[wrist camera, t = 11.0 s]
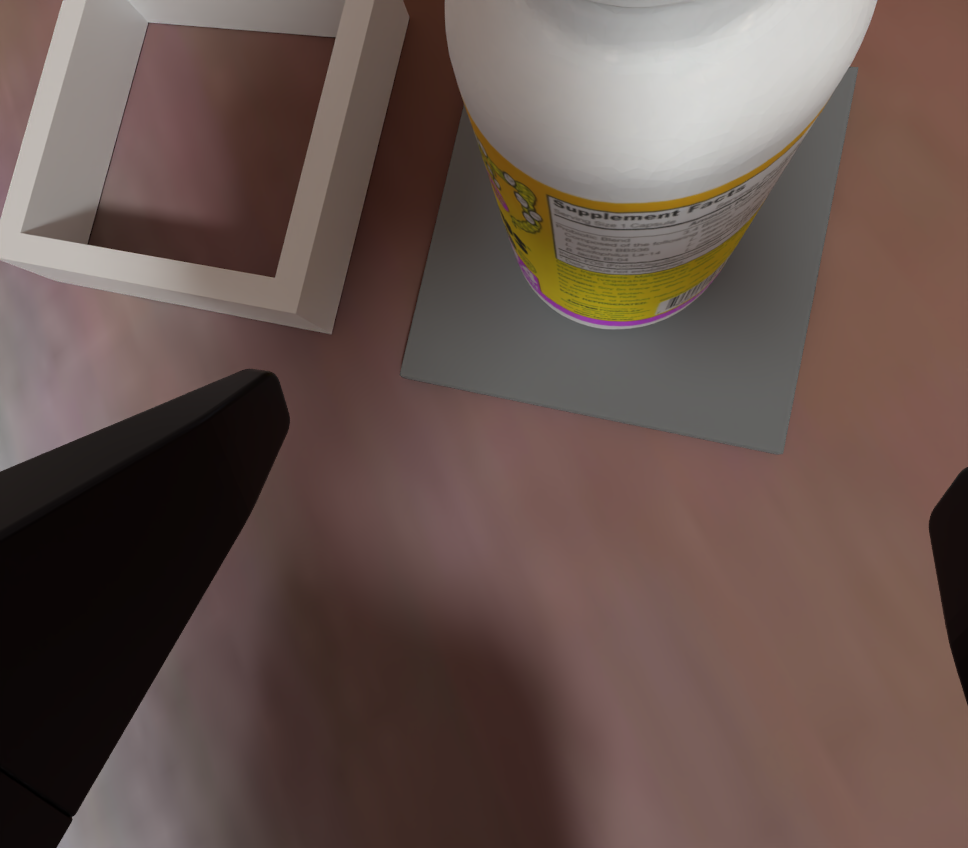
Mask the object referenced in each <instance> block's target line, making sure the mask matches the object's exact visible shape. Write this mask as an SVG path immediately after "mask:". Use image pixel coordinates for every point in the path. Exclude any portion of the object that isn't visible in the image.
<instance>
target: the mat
mask: <svg viewBox="0 0 968 848" xmlns="http://www.w3.org/2000/svg"><path fill="white" fill-rule="evenodd" d="M857 72H858V67H849V68H848V70H847V71H846V73H845V75H844V76H843V78H842V79H841V81H840V83H839V84H838V86H837V87H836V89H835V91H834V92H833V94H832V95H831V97H830V99H829V100H828V102H827V104H826V105H825V107H824V109H823V110H822V112H821V113H820V114H819V116H818V117H817V119H816V120H815V122H814V124H813V125H812V127H811V128H810V130H809V131H808V133H807V134H806V136H805V137H804V139H803V140H802V142H801V144H800V145H799V147H798V148H797V150H796V152H795V153H794V155H793V156H792V158H791V160H790V161H789V163H788V164H787V166H786V167H785V169H784V171H783V172H782V174H781V175H780V177H779V179H778V180H777V182H776V183H775V185H774V187H773V188H772V190H771V191H770V193H769V194H768V196H767V198H766V200H765V201H764V203H763V204H762V206H761V207H760V209H759V211H758V212H757V214H756V216H755V217H754V219H753V220H752V222H751V224H750V225H749V227H748V229H747V230H746V232H745V233H744V235H743V236H742V238H741V240H740V241H739V243H738V245H737V246H736V248H735V250H734V251H733V253H732V254H731V256H730V257H729V259H728V260H727V262H726V264H725V265H724V267H723V268H722V270H721V271H720V273H719V274H718V275H717V277H716V278H715V279H714V280H713V282H712V283H711V284H710V285H709V287H708V288H707V289H706V290H705V291H704V292H703V293H702V294H701V295H700V296H699V297H698V298H697V299H696V300H695V301H693V302H692V303H691V304H690V305H688V306H687V307H686V308H684V309H683V310H681V311H680V312H678V313H676V314H674V315H672V316H671V317H669V318H667V319H664V320H662V321H659V322H656V323H654V324H650V325H647V326H643V327H637V328H631V329H601V328H595V327H590V326H587V325H584V324H580V323H577V322H575V321H573V320H571V319H569V318H567V317H565V316H563V315H561V314H559V313H558V312H556V311H555V310H553V309H552V308H551V307H550V306H548V305H547V304H546V303H545V302H544V301H543V300H542V299H541V298H540V297H539V296H538V295H537V294H536V293H535V291H534V290H533V289H532V288H531V286H530V285H529V283H528V282H527V280H526V279H525V277H524V275H523V273H522V271H521V268H520V266H519V264H518V262H517V259H516V257H515V254H514V251H513V248H512V245H511V242H510V240H509V237H508V234H507V230H506V228H505V225H504V222H503V219H502V216H501V213H500V210H499V206H498V203H497V200H496V197H495V194H494V191H493V188H492V186H491V183H490V180H489V177H488V173H487V170H486V166H485V164H484V161H483V159H482V155H481V152H480V149H479V146H478V143H477V140H476V137H475V134H474V131H473V128H472V126H471V122H470V119H469V116H468V113H467V111H466V108H465V105H464V106H463V111H462V115H461V119H460V123H459V127H458V132H457V136H456V140H455V144H454V148H453V153H452V157H451V161H450V165H449V169H448V174H447V178H446V182H445V186H444V190H443V195H442V199H441V203H440V207H439V211H438V216H437V220H436V224H435V228H434V232H433V237H432V241H431V245H430V249H429V253H428V258H427V262H426V266H425V270H424V275H423V279H422V283H421V287H420V291H419V296H418V300H417V304H416V308H415V312H414V317H413V321H412V325H411V329H410V333H409V338H408V342H407V346H406V350H405V354H404V359H403V363H402V367H401V371H400V376H401V377H403V378H406V379H411V380H416V381H421V382H425V383H430V384H435V385H440V386H445V387H450V388H455V389H460V390H465V391H469V392H474V393H479V394H484V395H489V396H494V397H499V398H504V399H509V400H513V401H518V402H523V403H528V404H533V405H538V406H543V407H548V408H552V409H557V410H562V411H567V412H572V413H577V414H582V415H587V416H592V417H596V418H601V419H606V420H611V421H616V422H621V423H626V424H631V425H636V426H640V427H645V428H650V429H655V430H660V431H665V432H670V433H675V434H679V435H684V436H689V437H694V438H699V439H704V440H709V441H714V442H719V443H723V444H728V445H733V446H738V447H743V448H748V449H753V450H758V451H763V452H767V453H772V454H783V451H784V446H785V440H786V435H787V430H788V425H789V420H790V415H791V410H792V405H793V399H794V394H795V389H796V384H797V379H798V374H799V369H800V364H801V358H802V353H803V348H804V343H805V338H806V333H807V328H808V323H809V317H810V312H811V307H812V302H813V297H814V292H815V287H816V282H817V277H818V271H819V266H820V261H821V256H822V251H823V246H824V241H825V236H826V230H827V225H828V220H829V215H830V210H831V205H832V200H833V195H834V189H835V184H836V179H837V174H838V169H839V164H840V159H841V154H842V148H843V143H844V138H845V133H846V128H847V123H848V118H849V113H850V107H851V102H852V97H853V92H854V87H855V82H856V77H857Z"/></svg>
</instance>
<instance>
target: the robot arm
mask: <svg viewBox="0 0 968 848" xmlns="http://www.w3.org/2000/svg"><path fill="white" fill-rule="evenodd" d="M289 424H290V416H289V412H288V408H287V405H286V402H285V399H284V395H283V392H282V389H281V385H280V382H279V379H278V377H277V376H276V375H275V374H274V373H272V372H270V371H264V370H256V369H245V370H242V371H239V372H237V373H235V374H232V375H230V376H228V377H225V378H223V379H220V380H218V381H216V382H213V383H211V384H208V385H206V386H204V387H201V388H199V389H197V390H194V391H192V392H189V393H187V394H185V395H182V396H180V397H177V398H175V399H173V400H170V401H168V402H165V403H163V404H161V405H158V406H156V407H154V408H151V409H149V410H146V411H144V412H142V413H139V414H137V415H134V416H132V417H130V418H127V419H125V420H123V421H120V422H118V423H115V424H113V425H111V426H108V427H106V428H103V429H101V430H99V431H96V432H94V433H91V434H89V435H87V436H84V437H82V438H80V439H77V440H75V441H72V442H70V443H68V444H65V445H63V446H60V447H58V448H56V449H53V450H51V451H49V452H46V453H44V454H41V455H39V456H37V457H34V458H32V459H29V460H27V461H25V462H22V463H20V464H17V465H15V466H13V467H10V468H8V469H6V470H3V471H1V472H0V848H57V846H58V844H59V843H60V841H61V839H62V837H63V836H64V834H65V832H66V831H67V829H68V827H69V825H70V824H71V822H72V817H73V816H74V815H75V814H76V813H77V811H78V809H79V807H80V806H81V804H82V802H83V801H84V799H85V797H86V795H87V794H88V792H89V790H90V789H91V787H92V785H93V784H94V782H95V780H96V778H97V777H98V775H99V773H100V772H101V770H102V768H103V766H104V765H105V763H106V761H107V760H108V758H109V756H110V754H111V753H112V751H113V749H114V748H115V746H116V744H117V742H118V741H119V739H120V737H121V736H122V734H123V732H124V730H125V729H126V727H127V725H128V724H129V722H130V720H131V718H132V717H133V715H134V713H135V712H136V710H137V708H138V706H139V705H140V703H141V701H142V700H143V698H144V696H145V694H146V693H147V691H148V689H149V688H150V686H151V684H152V682H153V681H154V679H155V677H156V676H157V674H158V672H159V670H160V669H161V667H162V665H163V664H164V662H165V660H166V659H167V657H168V655H169V653H170V652H171V650H172V648H173V647H174V645H175V643H176V641H177V640H178V638H179V636H180V635H181V633H182V631H183V629H184V628H185V626H186V624H187V623H188V621H189V619H190V617H191V616H192V614H193V612H194V611H195V609H196V607H197V605H198V604H199V602H200V600H201V599H202V597H203V595H204V593H205V592H206V590H207V588H208V587H209V585H210V583H211V581H212V580H213V578H214V576H215V575H216V573H217V571H218V569H219V568H220V566H221V564H222V563H223V561H224V559H225V557H226V556H227V554H228V552H229V551H230V549H231V547H232V545H233V544H234V542H235V540H236V539H237V537H238V535H239V533H240V532H241V530H242V528H243V527H244V525H245V523H246V521H247V519H248V517H249V516H250V514H251V512H252V510H253V508H254V506H255V504H256V501H257V499H258V497H259V495H260V493H261V490H262V488H263V486H264V484H265V481H266V479H267V477H268V475H269V472H270V470H271V468H272V466H273V463H274V461H275V459H276V457H277V455H278V452H279V450H280V448H281V446H282V443H283V441H284V439H285V437H286V434H287V432H288V429H289ZM929 533H930V539H931V545H932V551H933V556H934V562H935V568H936V574H937V579H938V585H939V591H940V596H941V602H942V608H943V614H944V619H945V625H946V630H947V634H948V639H949V644H950V647H951V651H952V655H953V658H954V662H955V666H956V669H957V672H958V675H959V679H960V682H961V685H962V688H963V692H964V695H965V698H966V701H967V705H968V467H967V468H965V469H963V470H962V471H961V472H960V473H959V475H958V476H957V477H956V479H955V480H954V481H953V483H952V484H951V486H950V487H949V488H948V490H947V491H946V492H945V494H944V495H943V497H942V498H941V499H940V501H939V502H938V503H937V505H936V506H935V508H934V509H933V511H932V513H931V516H930V520H929Z"/></svg>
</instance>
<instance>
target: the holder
mask: <svg viewBox="0 0 968 848" xmlns="http://www.w3.org/2000/svg"><path fill="white" fill-rule="evenodd" d="M409 18H410V17H409V14H408V12H407V9H406V7H405V4H404V1H403V0H63V2H62V5H61V9H60V12H59V16H58V19H57V23H56V26H55V30H54V33H53V37H52V40H51V44H50V47H49V51H48V54H47V58H46V61H45V65H44V68H43V72H42V75H41V79H40V82H39V86H38V89H37V93H36V96H35V100H34V103H33V107H32V110H31V114H30V117H29V121H28V124H27V128H26V131H25V135H24V138H23V142H22V145H21V149H20V152H19V156H18V159H17V163H16V166H15V170H14V173H13V177H12V180H11V184H10V187H9V191H8V194H7V198H6V201H5V205H4V208H3V212H2V215H1V219H0V260H1V261H4V262H7V263H9V264H12V265H14V266H17V267H20V268H22V269H25V270H28V271H30V272H33V273H36V274H38V275H41V276H44V277H46V278H49V279H52V280H54V281H58V282H63V283H69V284H74V285H79V286H84V287H89V288H94V289H100V290H105V291H110V292H115V293H120V294H125V295H131V296H136V297H141V298H146V299H151V300H156V301H162V302H167V303H172V304H177V305H182V306H187V307H193V308H198V309H203V310H208V311H213V312H218V313H223V314H229V315H234V316H239V317H244V318H249V319H254V320H260V321H265V322H270V323H275V324H280V325H285V326H291V327H296V328H301V329H306V330H311V331H316V332H322V333H327V334H332V330H333V326H334V322H335V318H336V314H337V310H338V306H339V302H340V298H341V294H342V290H343V286H344V282H345V277H346V273H347V269H348V265H349V261H350V257H351V253H352V249H353V245H354V241H355V237H356V233H357V229H358V225H359V221H360V217H361V213H362V208H363V204H364V200H365V196H366V192H367V188H368V184H369V180H370V176H371V172H372V168H373V164H374V160H375V156H376V152H377V148H378V143H379V139H380V135H381V131H382V127H383V123H384V119H385V115H386V111H387V107H388V103H389V99H390V95H391V91H392V87H393V83H394V79H395V74H396V70H397V66H398V62H399V58H400V54H401V50H402V46H403V42H404V38H405V34H406V30H407V26H408V22H409ZM148 22H150V23H163V24H175V25H188V26H200V27H212V28H225V29H237V30H250V31H262V32H275V33H287V34H299V35H312V36H324V37H336V39H335V43H334V47H333V51H332V55H331V59H330V63H329V67H328V71H327V75H326V79H325V83H324V87H323V91H322V95H321V98H320V102H319V106H318V110H317V114H316V118H315V122H314V126H313V130H312V134H311V138H310V142H309V146H308V150H307V154H306V158H305V162H304V165H303V169H302V173H301V177H300V181H299V185H298V189H297V193H296V197H295V201H294V205H293V209H292V213H291V217H290V221H289V225H288V228H287V232H286V236H285V240H284V244H283V248H282V252H281V256H280V260H279V264H278V268H277V272H276V276H275V278H273V277H267V276H262V275H256V274H250V273H245V272H239V271H233V270H228V269H222V268H216V267H211V266H205V265H199V264H194V263H188V262H182V261H177V260H171V259H165V258H159V257H154V256H148V255H142V254H137V253H131V252H125V251H120V250H114V249H108V248H103V247H97V246H91V245H87V244H88V240H89V236H90V233H91V229H92V225H93V222H94V218H95V215H96V211H97V207H98V204H99V200H100V196H101V193H102V189H103V185H104V182H105V178H106V175H107V171H108V167H109V164H110V160H111V156H112V153H113V149H114V145H115V142H116V138H117V135H118V131H119V127H120V124H121V120H122V116H123V113H124V109H125V105H126V102H127V98H128V95H129V91H130V87H131V84H132V80H133V76H134V73H135V69H136V66H137V62H138V58H139V55H140V51H141V47H142V44H143V40H144V36H145V33H146V29H147V26H148Z"/></svg>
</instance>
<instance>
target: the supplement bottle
mask: <svg viewBox="0 0 968 848" xmlns="http://www.w3.org/2000/svg"><path fill="white" fill-rule="evenodd" d="M876 3H877V0H445V28H446V36H447V43H448V50H449V56H450V59H451V63H452V67H453V70H454V73H455V76H456V80H457V84H458V87H459V90H460V93H461V96H462V99H463V102H464V105H465V108H466V111H467V113H468V116H469V119H470V122H471V126H472V128H473V131H474V134H475V137H476V140H477V143H478V146H479V149H480V152H481V155H482V159H483V161H484V164H485V166H486V170H487V173H488V177H489V180H490V183H491V186H492V188H493V191H494V194H495V197H496V200H497V203H498V206H499V210H500V213H501V216H502V219H503V222H504V225H505V228H506V230H507V234H508V237H509V240H510V242H511V245H512V248H513V251H514V254H515V257H516V259H517V262H518V264H519V266H520V268H521V271H522V273H523V275H524V277H525V279H526V280H527V282H528V283H529V285H530V286H531V288H532V289H533V290H534V291H535V293H536V294H537V295H538V296H539V297H540V298H541V299H542V300H543V301H544V302H545V303H546V304H547V305H548V306H550V307H551V308H552V309H553V310H555V311H556V312H558V313H559V314H561V315H563V316H565V317H567V318H569V319H571V320H573V321H575V322H577V323H580V324H584V325H587V326H590V327H595V328H601V329H631V328H637V327H643V326H647V325H650V324H654V323H656V322H659V321H662V320H664V319H667V318H669V317H671V316H672V315H674V314H676V313H678V312H680V311H681V310H683V309H684V308H686V307H687V306H688V305H690V304H691V303H692V302H693V301H695V300H696V299H697V298H698V297H699V296H700V295H701V294H702V293H703V292H704V291H705V290H706V289H707V288H708V287H709V285H710V284H711V283H712V282H713V280H714V279H715V278H716V277H717V275H718V274H719V273H720V271H721V270H722V268H723V267H724V265H725V264H726V262H727V260H728V259H729V257H730V256H731V254H732V253H733V251H734V250H735V248H736V246H737V245H738V243H739V241H740V240H741V238H742V236H743V235H744V233H745V232H746V230H747V229H748V227H749V225H750V224H751V222H752V220H753V219H754V217H755V216H756V214H757V212H758V211H759V209H760V207H761V206H762V204H763V203H764V201H765V200H766V198H767V196H768V194H769V193H770V191H771V190H772V188H773V187H774V185H775V183H776V182H777V180H778V179H779V177H780V175H781V174H782V172H783V171H784V169H785V167H786V166H787V164H788V163H789V161H790V160H791V158H792V156H793V155H794V153H795V152H796V150H797V148H798V147H799V145H800V144H801V142H802V140H803V139H804V137H805V136H806V134H807V133H808V131H809V130H810V128H811V127H812V125H813V124H814V122H815V120H816V119H817V117H818V116H819V114H820V113H821V112H822V110H823V109H824V107H825V105H826V104H827V102H828V100H829V99H830V97H831V95H832V94H833V92H834V91H835V89H836V87H837V86H838V84H839V83H840V81H841V79H842V78H843V76H844V75H845V73H846V71H847V70H848V68H849V66H850V65H851V63H852V61H853V59H854V57H855V55H856V53H857V51H858V49H859V47H860V45H861V43H862V41H863V38H864V36H865V34H866V31H867V29H868V27H869V24H870V21H871V18H872V16H873V13H874V10H875V6H876Z"/></svg>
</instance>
